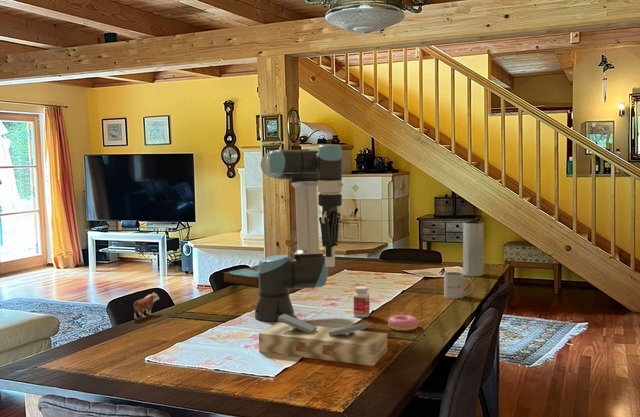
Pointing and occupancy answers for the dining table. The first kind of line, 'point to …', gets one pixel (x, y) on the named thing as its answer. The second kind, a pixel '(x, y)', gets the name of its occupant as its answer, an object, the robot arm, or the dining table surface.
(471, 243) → the vase
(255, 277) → the book
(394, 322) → the doughnut
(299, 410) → the dining table surface
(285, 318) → the rocker
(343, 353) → the console
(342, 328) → the rocker
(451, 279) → the mug
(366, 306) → the pill bottle
